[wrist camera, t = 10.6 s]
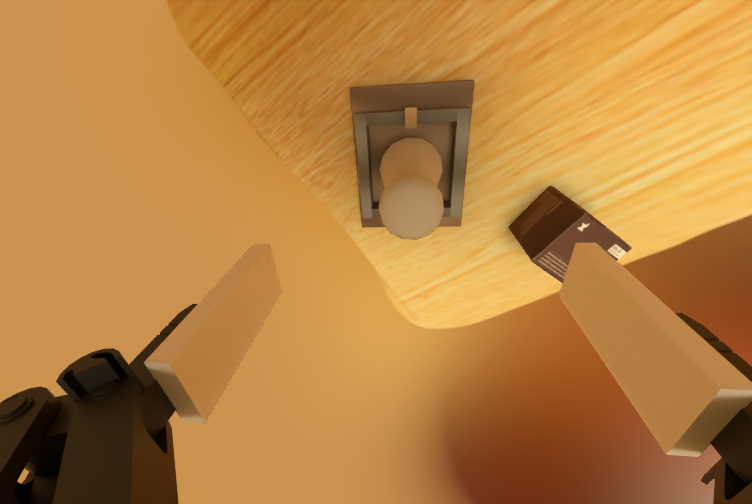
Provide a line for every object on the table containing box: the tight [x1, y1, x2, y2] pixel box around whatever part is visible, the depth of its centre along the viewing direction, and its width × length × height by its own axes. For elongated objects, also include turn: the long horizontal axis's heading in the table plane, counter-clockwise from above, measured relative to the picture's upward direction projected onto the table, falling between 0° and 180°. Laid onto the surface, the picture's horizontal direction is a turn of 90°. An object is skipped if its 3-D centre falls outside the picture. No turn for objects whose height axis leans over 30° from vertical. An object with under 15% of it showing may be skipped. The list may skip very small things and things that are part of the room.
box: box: [509, 186, 632, 283], centre depth 30 cm, size 6×6×7 cm
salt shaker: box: [379, 137, 444, 240], centre depth 24 cm, size 6×6×13 cm
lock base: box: [350, 80, 474, 227], centre depth 29 cm, size 14×11×4 cm
